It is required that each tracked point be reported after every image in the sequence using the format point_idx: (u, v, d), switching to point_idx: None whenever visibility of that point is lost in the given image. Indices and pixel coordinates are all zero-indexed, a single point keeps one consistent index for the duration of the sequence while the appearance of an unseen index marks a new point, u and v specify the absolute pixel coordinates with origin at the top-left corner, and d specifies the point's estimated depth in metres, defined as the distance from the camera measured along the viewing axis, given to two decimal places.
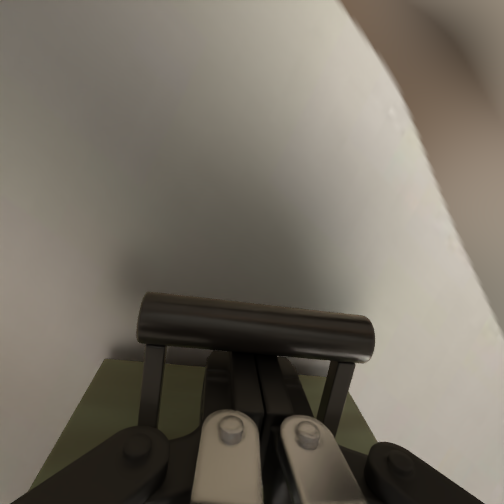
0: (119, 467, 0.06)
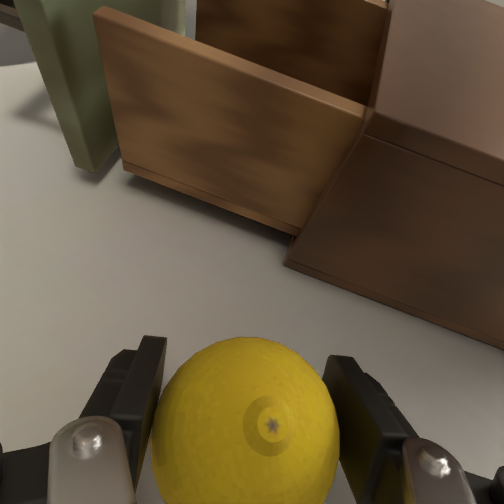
0: None
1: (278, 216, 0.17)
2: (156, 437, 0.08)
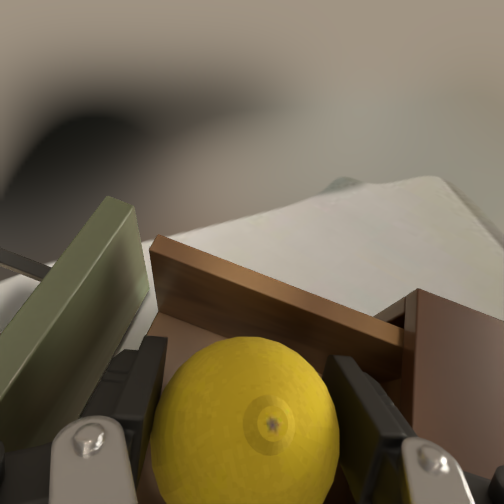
0: None
1: None
2: (156, 436, 0.08)
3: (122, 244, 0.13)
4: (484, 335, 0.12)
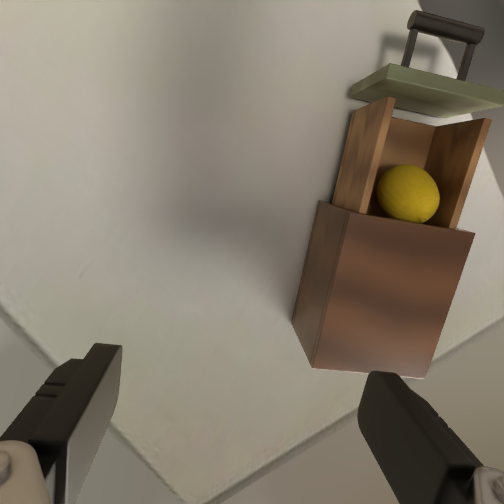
0: None
1: (338, 190, 0.37)
2: (419, 184, 0.31)
3: (484, 105, 0.31)
4: (458, 257, 0.32)
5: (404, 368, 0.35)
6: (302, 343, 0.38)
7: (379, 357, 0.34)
